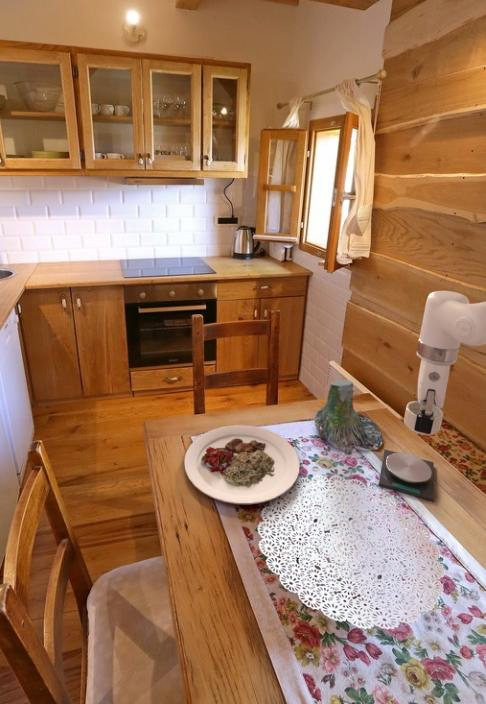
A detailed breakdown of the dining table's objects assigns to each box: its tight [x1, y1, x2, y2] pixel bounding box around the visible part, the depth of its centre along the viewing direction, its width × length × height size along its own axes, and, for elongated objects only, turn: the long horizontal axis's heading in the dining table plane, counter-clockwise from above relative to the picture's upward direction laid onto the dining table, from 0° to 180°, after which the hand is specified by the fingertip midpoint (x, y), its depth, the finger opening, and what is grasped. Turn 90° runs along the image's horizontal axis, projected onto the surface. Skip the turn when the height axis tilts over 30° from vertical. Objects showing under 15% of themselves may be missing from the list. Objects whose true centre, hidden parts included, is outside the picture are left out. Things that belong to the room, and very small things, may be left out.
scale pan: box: [386, 452, 432, 484], centre depth 101 cm, size 10×10×2 cm
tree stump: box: [313, 379, 384, 454], centre depth 119 cm, size 18×20×18 cm
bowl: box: [403, 400, 444, 436], centre depth 91 cm, size 7×7×4 cm
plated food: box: [183, 424, 300, 505], centre depth 107 cm, size 30×30×3 cm
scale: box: [378, 448, 435, 503], centre depth 102 cm, size 12×14×2 cm
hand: (422, 421), depth 91 cm, fingers closed on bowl, 7 cm apart
